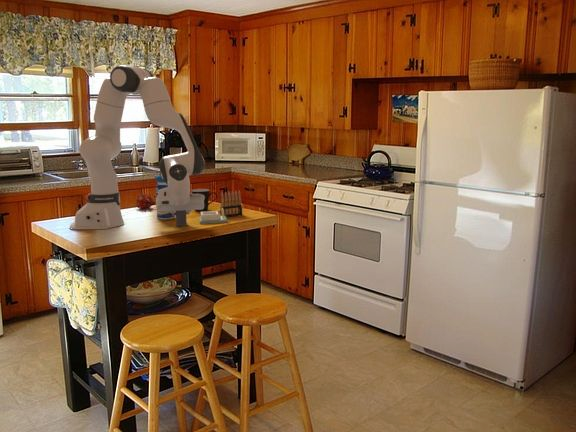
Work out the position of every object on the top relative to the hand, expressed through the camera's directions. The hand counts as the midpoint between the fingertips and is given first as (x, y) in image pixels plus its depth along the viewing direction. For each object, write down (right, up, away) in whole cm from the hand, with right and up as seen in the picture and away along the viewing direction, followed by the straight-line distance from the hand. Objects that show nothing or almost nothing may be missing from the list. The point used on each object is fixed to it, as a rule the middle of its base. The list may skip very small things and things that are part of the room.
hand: (180, 213), depth 242 cm
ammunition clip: (+20, -1, +18) cm, 27 cm away
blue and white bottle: (-10, -2, +16) cm, 19 cm away
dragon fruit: (-26, +2, +40) cm, 47 cm away
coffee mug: (+5, +2, +33) cm, 34 cm away
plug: (0, -5, 0) cm, 5 cm away
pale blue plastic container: (+13, -3, +8) cm, 15 cm away
